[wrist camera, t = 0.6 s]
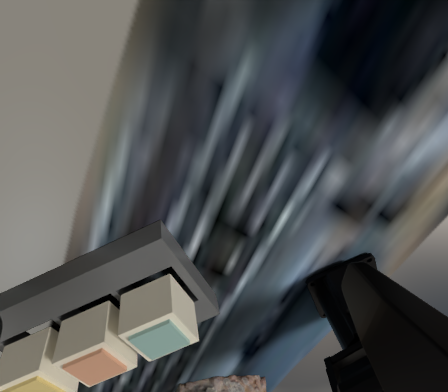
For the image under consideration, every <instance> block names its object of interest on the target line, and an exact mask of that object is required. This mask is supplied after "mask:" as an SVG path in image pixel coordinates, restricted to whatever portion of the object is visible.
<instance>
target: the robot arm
mask: <svg viewBox="0 0 448 392" xmlns="http://www.w3.org/2000/svg"><path fill="white" fill-rule="evenodd" d="M306 284H307V286H308V289H309V291H310V293H311V296H312V298H313V300H314V303H315V305H316V307H317V310H318V312H319V314H320V316H321V318H325V317H327V319H328V321H329V323H330V325H331V327H332V329H333V331H334V333H335V335H336V337H337V339H338V341H339V343H340V345H341V347H342V349H343V350H342V351H340V352H338V353H337V354H335V355H334V356H331V357H330V356H329V357H327V358H325V359H324V362H325V365H326V368H327V369H326V372H327V375H328V378H329V382H330V385H331V388H332V392H448V317H447V316H445V315H444V314H442V313H441V312H439V311H438V310H436V309H435V308H433V307H432V306H430V305H429V304H427V303H426V302H424V301H423V300H421V299H420V298H418V297H417V296H415V295H414V294H412V293H411V292H409V291H408V290H406V289H405V288H403V287H402V286H400V285H399V284H398V283H396V282H394V281H393V280H391V279H390V278H389V277H387V276H386V275H384V274H383V273H381V272H380V271H378V270H377V266H376V262H375V258H374V256H373V255H372V254H371V253H368V254H365V255H363V256H360V257H358V258H355V259H353V260H351V261H348V262H346V263H344V264H341V265H339V266H337V267H334V268H332V269H330V270H327V271H325V272H322V273H320V274H318V275H315V276H313V277H311V278H309V279H307V280H306ZM2 329H3V322H2V318H1V316H0V338H1V334H2Z"/></svg>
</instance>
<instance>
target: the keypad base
mask: <svg viewBox="0 0 448 392" xmlns="http://www.w3.org/2000/svg"><path fill="white" fill-rule="evenodd" d="M171 266H172V268H173V269H174V270H175V271H176V273H177V274H178V275H179V276H180V278H181V279H182V280H183V281H184V283H185V284H186V285H185V286H183V287H181V288H182V289H183V290H184V291H185V292H186V294H187V295H188V296H189V297H190V298H191V300H192V301H193V302H194V306H195V313H196V321H197V323H200V322H202V321H204V320H207V319H209V318H211V317H214V316H216V315H218V314H220V313H219V308H218V303H217V298H216V294H215V293H214V292H213V290H212V289H211V288H210V286H209V285H208V283H207V282H206V281H205V279H204V278H203V277H202V275H201V274H200V273H199V271H198V270H197V269H196V267H195V266H194V264H193V263H192V262H191V260H190V259H189V258H188V256H187V255H186V254H185V252H184V251H183V250H182V248H181V247H180V245H179V244H178V243H177V241H176V240H175V239H174V237H173V236H172V235H171V233H170V232H169V230H168V229H167V228H166V226H165V225H164V224H163V222H162V221H161V220H159V221H157V222H155V223H153V224H150V225H148V226H146V227H144V228H142V229H140V230H137V231H135V232H133V233H131V234H129V235H126V236H124V237H122V238H120V239H118V240H116V241H113V242H111V243H109V244H107V245H105V246H103V247H100V248H98V249H96V250H94V251H92V252H90V253H87V254H85V255H83V256H81V257H79V258H76V259H74V260H72V261H70V262H68V263H66V264H63V265H61V266H59V267H57V268H55V269H53V270H50V271H48V272H46V273H44V274H42V275H39V276H37V277H35V278H33V279H31V280H29V281H26V282H24V283H22V284H20V285H18V286H16V287H14V288H11V289H9V290H7V291H5V292H3V293H0V316H1V318H2V322H3V329H2V334H1V338H0V351H1V352H3V350H4V347H5V346H7V345H9V344H12V343H14V342H16V341H18V340H21V339H23V338H25V337H27V336H30V334H29V333H27V332H26V331H27V330H29V329H31V328H34V327H36V326H38V325H40V324H43V323H45V322H47V321H49V320H53V321H55V322H56V323H57V324H59V325H60V326H61V322H62V321H63V320H66V319H68V318H70V317H73V316H75V315H77V314H79V313H82V312H81V311H80V310H79V309H78V308H79V307H81V306H83V305H85V304H88V303H90V302H92V301H94V300H97V299H99V298H101V297H103V296H106V295H108V294H110V293H111V294H112V295H113V296H114V297H115V298H116V299H117V300H118V301H119V302H120V301H121V295H122V294H124V293H127V292H129V291H131V290H134V289H135V288H134V287H133V286H132V285H131V284H133V283H135V282H137V281H139V280H142V279H144V278H146V277H148V276H151V275H153V274H155V273H157V272H160V271H162V270H164V269H166V268H169V267H171Z"/></svg>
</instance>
